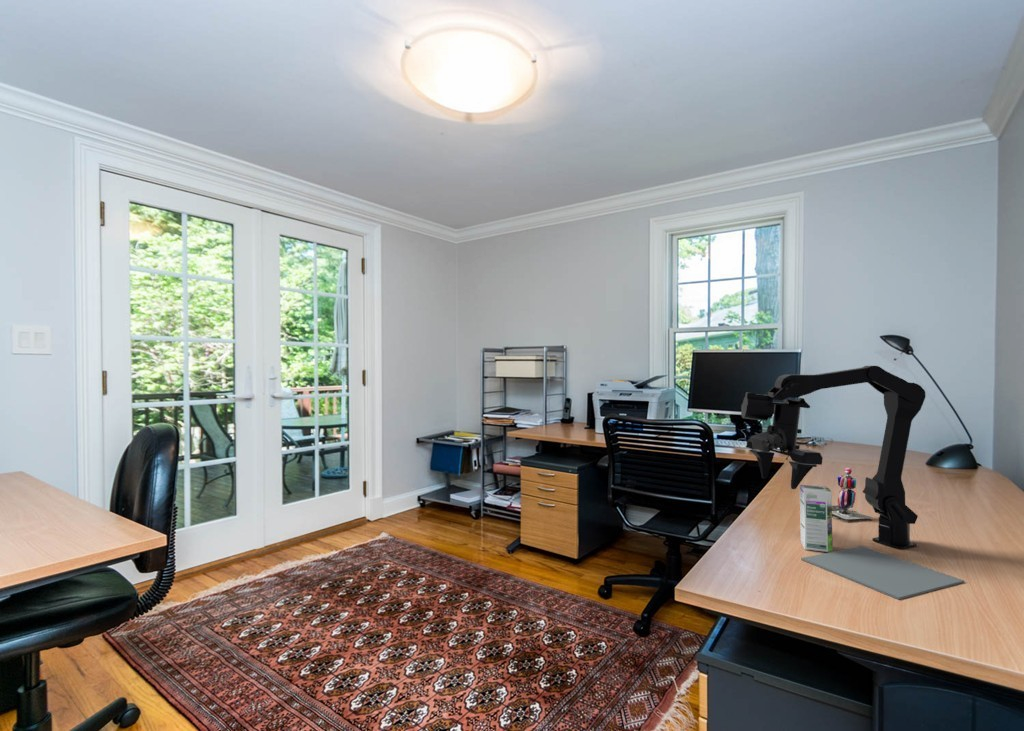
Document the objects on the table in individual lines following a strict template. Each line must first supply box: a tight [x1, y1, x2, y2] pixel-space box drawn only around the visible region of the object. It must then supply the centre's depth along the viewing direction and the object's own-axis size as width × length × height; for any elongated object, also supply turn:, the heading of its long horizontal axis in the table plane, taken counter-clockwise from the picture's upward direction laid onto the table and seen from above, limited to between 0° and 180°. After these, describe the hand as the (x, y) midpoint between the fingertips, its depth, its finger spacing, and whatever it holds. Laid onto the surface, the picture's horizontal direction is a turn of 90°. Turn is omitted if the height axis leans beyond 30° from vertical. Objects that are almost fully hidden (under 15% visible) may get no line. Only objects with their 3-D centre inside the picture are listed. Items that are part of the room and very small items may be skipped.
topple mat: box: [800, 545, 965, 600], centre depth 103 cm, size 20×20×1 cm
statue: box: [832, 467, 873, 523], centre depth 140 cm, size 11×9×15 cm
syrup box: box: [799, 484, 834, 553], centre depth 116 cm, size 6×6×14 cm
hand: (778, 483), depth 124 cm, fingers open, 9 cm apart
